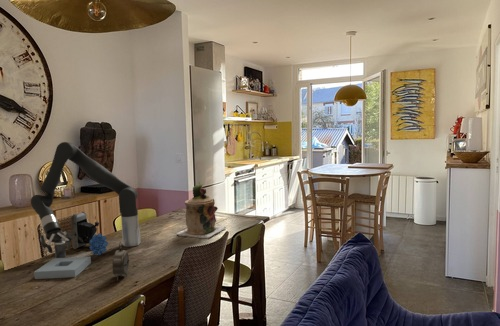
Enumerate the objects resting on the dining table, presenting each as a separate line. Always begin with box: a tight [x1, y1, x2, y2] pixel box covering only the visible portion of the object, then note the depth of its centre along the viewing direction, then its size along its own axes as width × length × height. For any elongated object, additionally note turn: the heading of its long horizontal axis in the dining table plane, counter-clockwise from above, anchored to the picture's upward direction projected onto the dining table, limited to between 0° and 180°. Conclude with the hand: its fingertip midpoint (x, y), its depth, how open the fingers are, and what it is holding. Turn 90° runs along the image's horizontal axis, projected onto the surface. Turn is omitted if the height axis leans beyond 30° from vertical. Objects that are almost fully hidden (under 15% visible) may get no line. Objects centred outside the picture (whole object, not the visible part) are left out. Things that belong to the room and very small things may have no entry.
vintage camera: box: [70, 211, 100, 250], centre depth 211 cm, size 10×16×20 cm, turn 78°
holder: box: [33, 256, 92, 280], centre depth 174 cm, size 18×18×3 cm
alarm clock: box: [112, 241, 130, 282], centre depth 163 cm, size 11×5×16 cm, turn 5°
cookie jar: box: [175, 181, 227, 239], centre depth 233 cm, size 25×25×32 cm
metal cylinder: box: [53, 240, 67, 258], centre depth 189 cm, size 5×5×10 cm
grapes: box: [89, 233, 109, 256], centre depth 196 cm, size 12×7×12 cm, turn 72°
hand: (60, 250), depth 189 cm, fingers open, 8 cm apart
